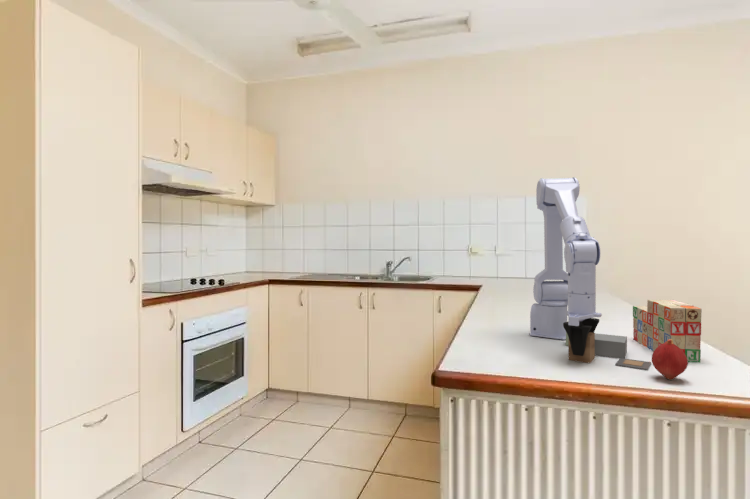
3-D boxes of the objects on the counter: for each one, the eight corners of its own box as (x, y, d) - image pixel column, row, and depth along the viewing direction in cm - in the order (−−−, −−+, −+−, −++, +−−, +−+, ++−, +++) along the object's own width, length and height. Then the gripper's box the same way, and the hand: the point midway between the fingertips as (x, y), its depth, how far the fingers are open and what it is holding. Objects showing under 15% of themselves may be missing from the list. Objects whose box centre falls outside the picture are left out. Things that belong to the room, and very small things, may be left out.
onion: (644, 375, 87) (644, 335, 87) (671, 374, 88) (671, 334, 88) (666, 384, 82) (666, 342, 81) (695, 383, 82) (695, 341, 82)
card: (615, 365, 94) (615, 363, 94) (620, 359, 99) (620, 357, 99) (647, 370, 90) (647, 368, 90) (651, 363, 95) (651, 361, 95)
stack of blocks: (632, 339, 118) (632, 294, 117) (657, 340, 116) (658, 294, 116) (670, 362, 97) (670, 306, 96) (701, 363, 95) (702, 307, 95)
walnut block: (568, 360, 99) (568, 333, 99) (573, 355, 102) (573, 330, 102) (590, 363, 96) (590, 336, 96) (594, 358, 100) (594, 332, 99)
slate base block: (591, 355, 103) (591, 339, 103) (594, 349, 109) (594, 333, 109) (625, 360, 99) (625, 342, 99) (626, 352, 105) (626, 336, 105)
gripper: (593, 297, 91) (593, 362, 91) (607, 290, 102) (607, 348, 102) (558, 295, 95) (558, 357, 95) (575, 288, 106) (575, 343, 107)
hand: (581, 352), depth 99 cm, fingers open, 5 cm apart
